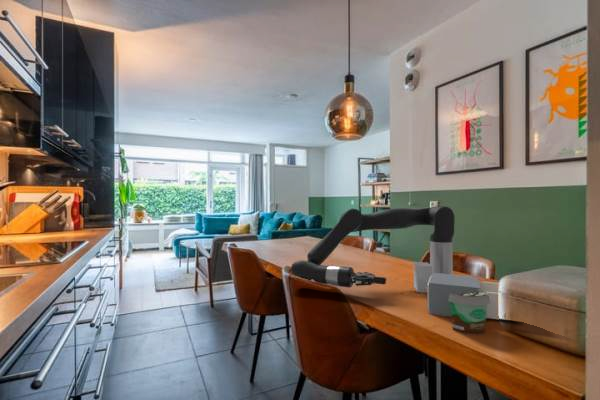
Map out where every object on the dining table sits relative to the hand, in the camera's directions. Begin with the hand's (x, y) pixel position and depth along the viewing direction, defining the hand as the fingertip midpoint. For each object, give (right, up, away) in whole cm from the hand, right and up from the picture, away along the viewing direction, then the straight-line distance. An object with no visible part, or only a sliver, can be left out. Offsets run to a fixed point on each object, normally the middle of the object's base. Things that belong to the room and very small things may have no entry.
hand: (385, 281), depth 110 cm
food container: (+16, -6, -27) cm, 33 cm away
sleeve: (+20, -6, -10) cm, 23 cm away
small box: (+18, -7, +13) cm, 24 cm away
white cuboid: (+24, -6, -12) cm, 27 cm away
